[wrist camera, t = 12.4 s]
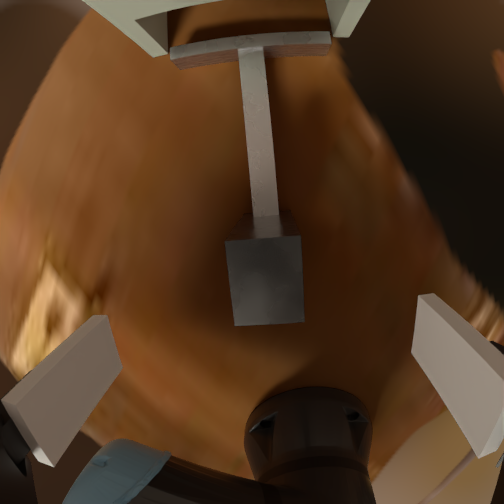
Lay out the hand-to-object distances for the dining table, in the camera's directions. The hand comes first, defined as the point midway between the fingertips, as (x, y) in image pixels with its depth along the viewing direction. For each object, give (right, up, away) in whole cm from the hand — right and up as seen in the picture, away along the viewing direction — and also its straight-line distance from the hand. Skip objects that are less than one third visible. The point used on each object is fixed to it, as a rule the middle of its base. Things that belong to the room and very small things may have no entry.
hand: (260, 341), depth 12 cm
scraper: (+1, +12, +14) cm, 18 cm away
